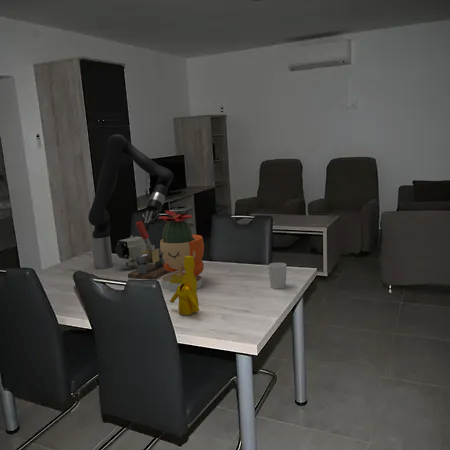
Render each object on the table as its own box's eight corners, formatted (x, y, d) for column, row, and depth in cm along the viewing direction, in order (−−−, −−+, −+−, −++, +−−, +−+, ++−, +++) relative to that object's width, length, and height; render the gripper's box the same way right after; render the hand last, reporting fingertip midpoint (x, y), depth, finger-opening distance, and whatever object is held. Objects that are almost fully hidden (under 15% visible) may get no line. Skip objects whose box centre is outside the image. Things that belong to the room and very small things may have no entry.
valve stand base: (128, 277, 227) (127, 273, 227) (150, 267, 245) (150, 263, 244) (154, 280, 220) (154, 276, 220) (175, 269, 238) (175, 265, 237)
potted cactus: (183, 293, 196) (177, 215, 190) (152, 285, 211) (145, 212, 205) (217, 281, 212) (212, 208, 206) (185, 274, 227) (180, 206, 221)
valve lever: (147, 249, 230) (135, 223, 220) (149, 246, 232) (137, 220, 222) (151, 249, 229) (139, 223, 219) (153, 246, 231) (141, 220, 221)
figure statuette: (166, 310, 177) (162, 256, 173) (182, 304, 182) (178, 252, 178) (195, 321, 164) (191, 263, 160) (211, 314, 169) (207, 258, 166)
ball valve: (126, 272, 237) (123, 239, 234) (117, 270, 243) (113, 238, 240) (152, 264, 251) (150, 233, 248) (143, 262, 256) (140, 232, 253)
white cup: (288, 284, 201) (287, 262, 199) (285, 289, 194) (284, 267, 192) (271, 283, 204) (270, 262, 202) (267, 288, 196) (266, 266, 195)
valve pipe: (135, 274, 224) (133, 249, 222) (158, 264, 242) (156, 241, 240) (145, 275, 222) (143, 249, 220) (167, 265, 240) (165, 241, 237)
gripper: (142, 198, 234) (130, 226, 225) (163, 198, 228) (152, 226, 220) (148, 207, 240) (137, 234, 231) (169, 207, 234) (159, 234, 225)
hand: (144, 230), depth 225 cm, fingers closed
